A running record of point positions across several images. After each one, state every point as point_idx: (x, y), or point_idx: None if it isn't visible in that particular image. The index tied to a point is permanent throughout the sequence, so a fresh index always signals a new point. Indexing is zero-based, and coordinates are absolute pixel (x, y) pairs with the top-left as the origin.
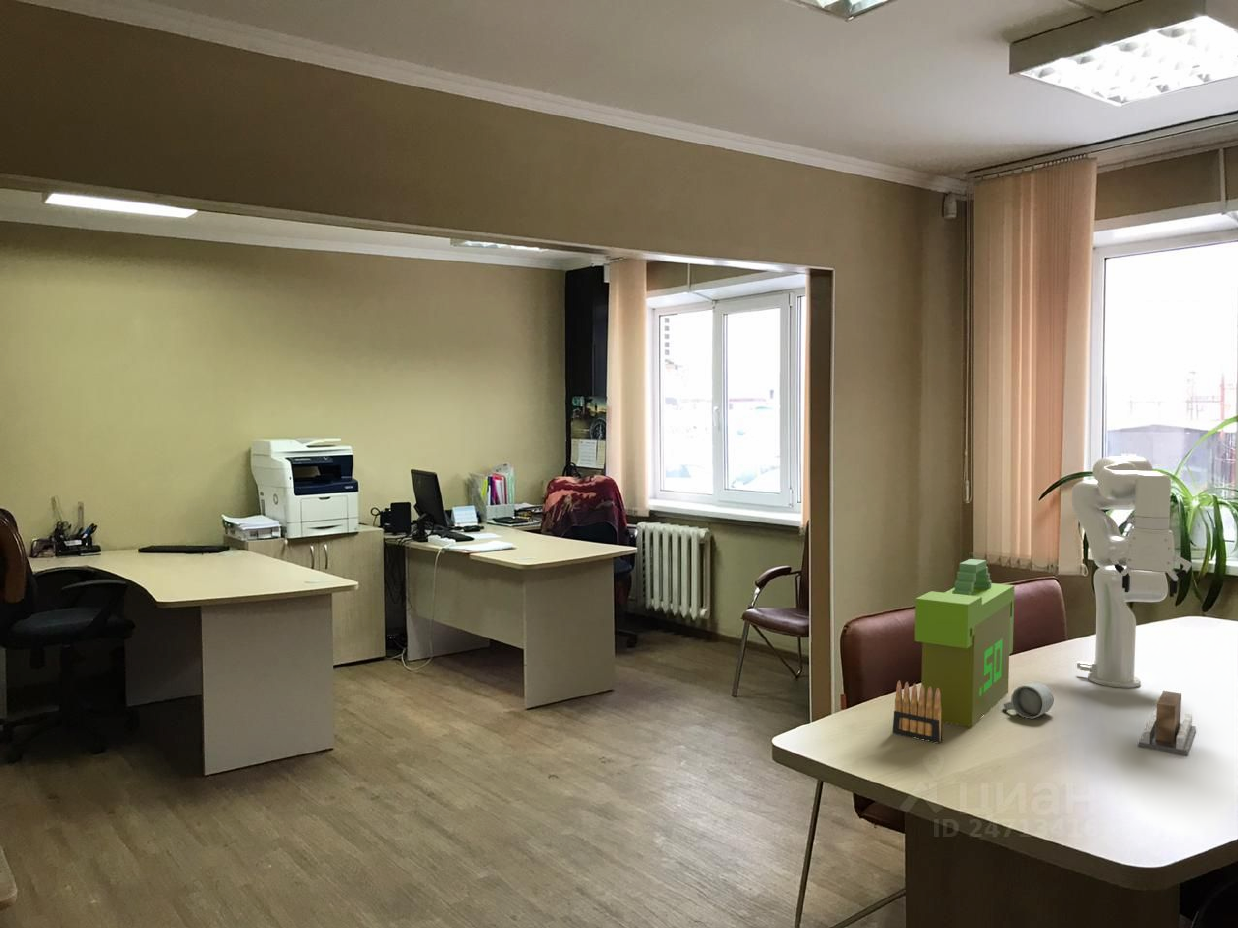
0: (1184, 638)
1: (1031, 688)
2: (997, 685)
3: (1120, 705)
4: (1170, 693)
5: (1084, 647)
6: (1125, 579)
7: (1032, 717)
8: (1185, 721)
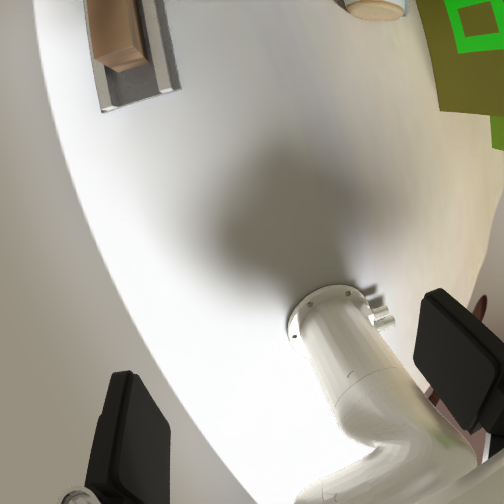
0: None
1: None
2: (444, 27)
3: (271, 169)
4: (113, 36)
5: None
6: (498, 341)
7: None
8: None
